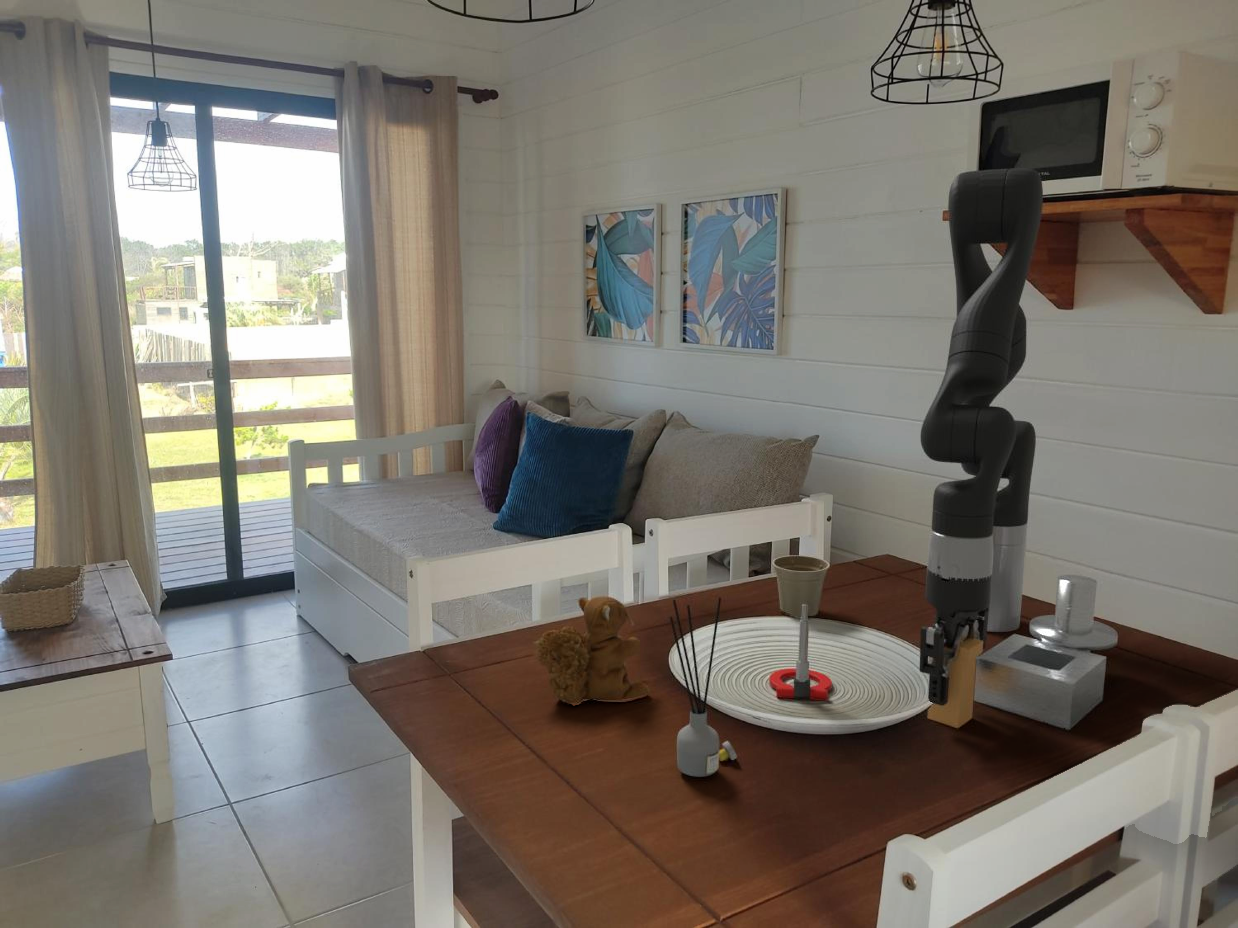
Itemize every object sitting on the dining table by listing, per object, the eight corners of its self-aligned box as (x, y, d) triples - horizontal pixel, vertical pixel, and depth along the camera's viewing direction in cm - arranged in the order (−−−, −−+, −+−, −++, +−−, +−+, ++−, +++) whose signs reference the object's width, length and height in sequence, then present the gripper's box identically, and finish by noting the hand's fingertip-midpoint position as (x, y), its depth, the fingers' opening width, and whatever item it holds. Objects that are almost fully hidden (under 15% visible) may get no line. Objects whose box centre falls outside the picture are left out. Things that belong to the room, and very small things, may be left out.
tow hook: (768, 674, 132) (769, 698, 123) (771, 586, 131) (772, 604, 122) (829, 678, 131) (834, 703, 122) (833, 589, 129) (838, 608, 120)
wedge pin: (921, 716, 118) (926, 637, 116) (936, 706, 121) (941, 629, 119) (963, 730, 114) (969, 649, 112) (977, 719, 117) (983, 640, 115)
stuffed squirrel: (655, 696, 124) (656, 602, 122) (562, 721, 117) (560, 622, 115) (617, 671, 133) (616, 582, 130) (527, 693, 126) (525, 600, 123)
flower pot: (833, 622, 152) (835, 571, 150) (775, 622, 152) (776, 571, 150) (821, 603, 161) (823, 555, 159) (767, 603, 161) (768, 555, 160)
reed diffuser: (687, 795, 100) (689, 618, 96) (642, 772, 105) (642, 602, 101) (747, 762, 107) (751, 595, 103) (701, 742, 112) (703, 582, 108)
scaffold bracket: (973, 700, 122) (980, 598, 120) (1040, 653, 138) (1047, 562, 136) (1069, 730, 114) (1078, 621, 112) (1128, 676, 130) (1137, 580, 127)
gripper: (956, 549, 122) (948, 669, 125) (902, 573, 112) (895, 702, 115) (1014, 561, 116) (1004, 685, 119) (962, 586, 106) (954, 722, 109)
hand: (951, 693), depth 117 cm, fingers open, 7 cm apart
